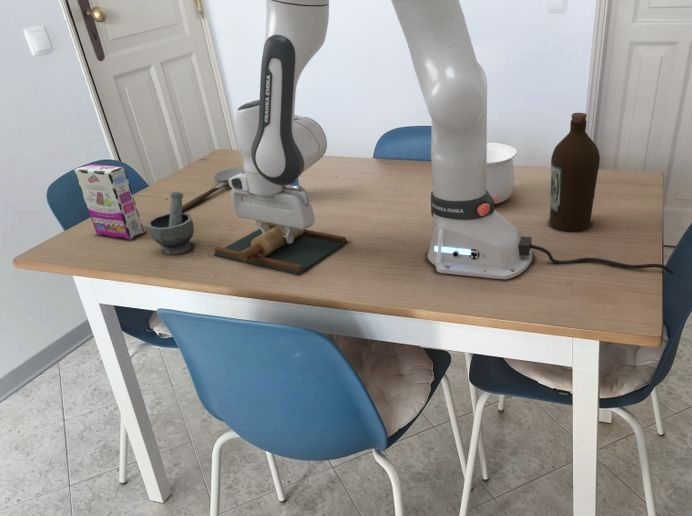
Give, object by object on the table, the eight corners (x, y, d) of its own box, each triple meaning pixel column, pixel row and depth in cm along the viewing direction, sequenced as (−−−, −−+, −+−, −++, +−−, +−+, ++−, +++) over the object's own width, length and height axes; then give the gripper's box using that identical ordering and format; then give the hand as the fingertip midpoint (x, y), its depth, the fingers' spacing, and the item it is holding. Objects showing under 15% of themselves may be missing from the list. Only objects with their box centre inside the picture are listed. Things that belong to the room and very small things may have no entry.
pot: (503, 217, 153) (505, 168, 147) (436, 211, 159) (434, 163, 152) (523, 188, 171) (525, 142, 164) (462, 183, 176) (461, 139, 169)
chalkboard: (347, 242, 145) (346, 236, 144) (298, 275, 132) (297, 268, 131) (267, 226, 155) (266, 221, 154) (214, 255, 142) (212, 249, 141)
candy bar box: (146, 232, 154) (125, 166, 145) (131, 240, 151) (109, 173, 141) (111, 227, 158) (89, 162, 149) (95, 235, 154) (72, 169, 145)
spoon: (261, 176, 185) (258, 166, 184) (187, 222, 161) (183, 211, 159) (231, 176, 189) (228, 166, 188) (155, 221, 165) (151, 210, 163)
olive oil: (586, 214, 153) (597, 107, 139) (597, 231, 144) (610, 119, 131) (543, 216, 153) (549, 109, 139) (551, 234, 144) (559, 121, 130)
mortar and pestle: (184, 259, 141) (170, 207, 134) (147, 256, 142) (131, 205, 136) (209, 238, 150) (197, 189, 143) (174, 236, 152) (160, 188, 145)
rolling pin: (318, 229, 150) (315, 211, 148) (252, 268, 134) (248, 249, 131) (303, 226, 152) (300, 208, 150) (237, 264, 135) (232, 245, 133)
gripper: (315, 182, 133) (324, 242, 140) (242, 170, 141) (254, 228, 149) (296, 191, 128) (306, 253, 136) (222, 179, 136) (235, 238, 144)
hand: (278, 240), depth 142 cm, fingers closed on rolling pin, 4 cm apart
